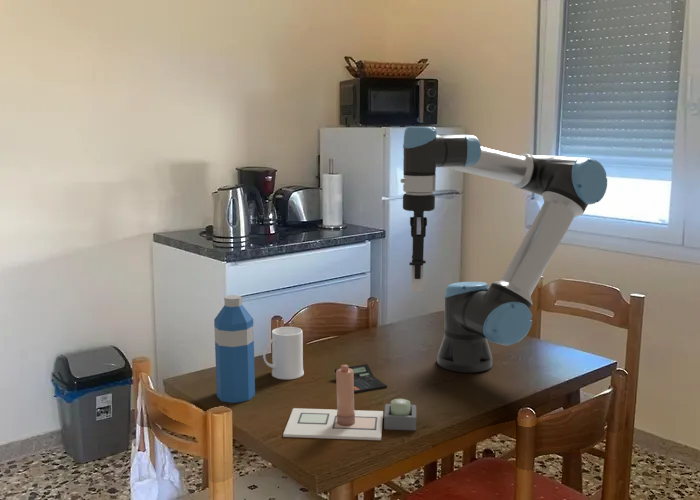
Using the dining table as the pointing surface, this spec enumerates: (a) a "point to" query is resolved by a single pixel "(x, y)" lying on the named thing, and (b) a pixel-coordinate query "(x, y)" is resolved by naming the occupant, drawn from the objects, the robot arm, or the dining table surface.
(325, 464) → the dining table surface
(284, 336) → the mug
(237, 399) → the water bottle
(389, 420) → the button housing
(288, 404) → the dining table surface
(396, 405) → the button
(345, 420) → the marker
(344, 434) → the picture sheet
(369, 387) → the calculator
